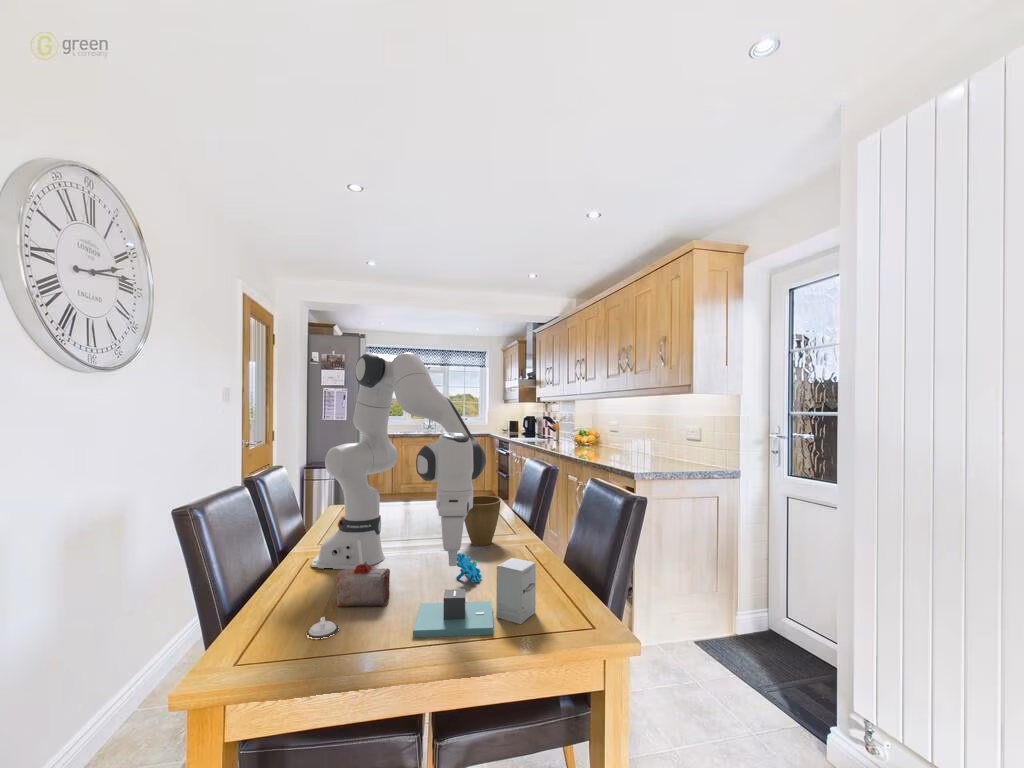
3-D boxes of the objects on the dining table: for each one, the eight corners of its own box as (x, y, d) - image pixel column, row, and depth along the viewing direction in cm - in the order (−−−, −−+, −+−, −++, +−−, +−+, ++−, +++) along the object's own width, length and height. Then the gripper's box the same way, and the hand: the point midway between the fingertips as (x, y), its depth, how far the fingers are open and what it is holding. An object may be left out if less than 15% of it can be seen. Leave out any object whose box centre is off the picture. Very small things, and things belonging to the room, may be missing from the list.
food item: (331, 609, 118) (331, 570, 118) (341, 596, 126) (342, 559, 126) (385, 608, 119) (385, 569, 119) (392, 595, 127) (392, 558, 127)
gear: (475, 583, 130) (453, 554, 134) (460, 597, 131) (439, 568, 134) (489, 575, 141) (468, 548, 144) (475, 587, 141) (455, 561, 145)
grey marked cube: (443, 619, 109) (443, 597, 109) (445, 610, 114) (445, 589, 114) (464, 619, 109) (464, 597, 110) (465, 609, 114) (465, 588, 115)
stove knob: (304, 644, 102) (304, 631, 102) (305, 629, 109) (305, 616, 109) (340, 638, 105) (340, 624, 105) (339, 623, 111) (339, 611, 111)
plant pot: (478, 534, 183) (478, 494, 183) (508, 541, 174) (508, 498, 175) (452, 544, 171) (452, 500, 171) (483, 552, 162) (483, 506, 163)
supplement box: (521, 625, 110) (521, 571, 110) (495, 617, 114) (495, 565, 114) (536, 613, 116) (536, 561, 116) (511, 606, 120) (511, 556, 120)
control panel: (412, 637, 104) (412, 616, 104) (420, 609, 118) (420, 591, 118) (493, 634, 105) (493, 614, 106) (491, 606, 119) (491, 589, 119)
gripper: (444, 491, 123) (444, 544, 122) (437, 510, 102) (437, 574, 102) (468, 491, 123) (468, 544, 123) (466, 510, 103) (465, 573, 102)
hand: (454, 557), depth 112 cm, fingers open, 8 cm apart
